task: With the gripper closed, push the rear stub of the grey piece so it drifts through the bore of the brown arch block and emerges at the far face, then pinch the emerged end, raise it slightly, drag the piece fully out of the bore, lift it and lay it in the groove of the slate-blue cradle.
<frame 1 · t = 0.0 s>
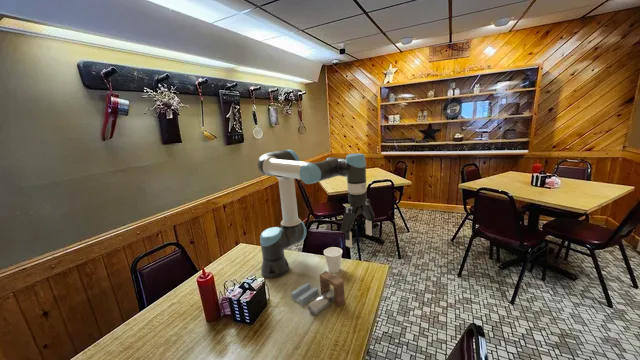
hand: (359, 240, 107), 28 cm above the table, fingers open, 13 cm apart
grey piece: (322, 301, 110), point 2 cm above the table
cradle: (305, 296, 117), on the table
cup: (334, 270, 136), on the table
brown arch block: (332, 299, 114), on the table
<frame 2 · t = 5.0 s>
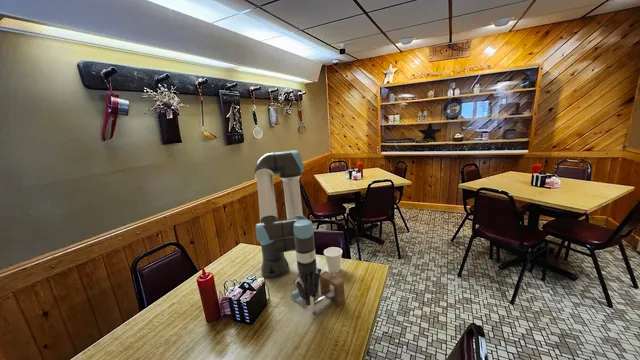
hand: (311, 310, 105), 2 cm above the table, fingers closed
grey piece: (324, 301, 109), point 2 cm above the table, tilted 15°, touching gripper
everything else where it was.
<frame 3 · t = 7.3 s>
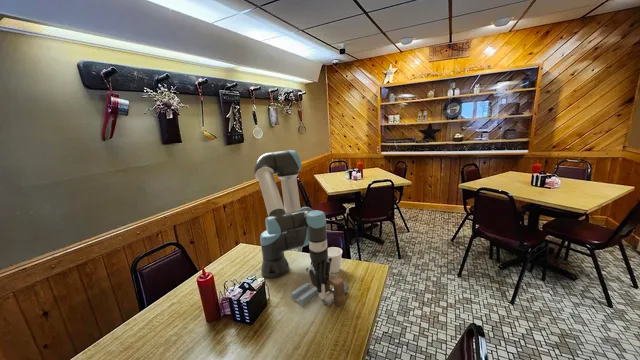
hand: (322, 297, 110), 4 cm above the table, fingers closed
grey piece: (335, 293, 114), point 2 cm above the table, tilted 11°
everything else where it was.
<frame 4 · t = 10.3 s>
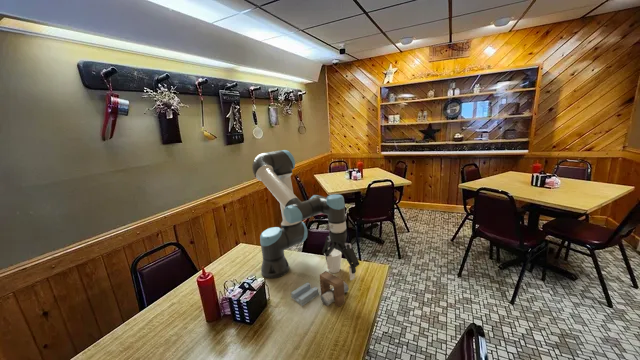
hand: (340, 273, 115), 10 cm above the table, fingers open, 13 cm apart
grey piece: (334, 293, 114), point 2 cm above the table, tilted 5°
everything else where it was.
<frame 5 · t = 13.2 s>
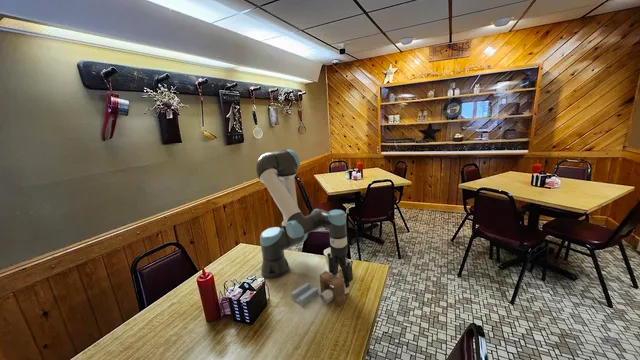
hand: (341, 289, 118), 1 cm above the table, fingers closed on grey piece, 5 cm apart
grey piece: (334, 291, 114), point 3 cm above the table, touching gripper
everything else where it was.
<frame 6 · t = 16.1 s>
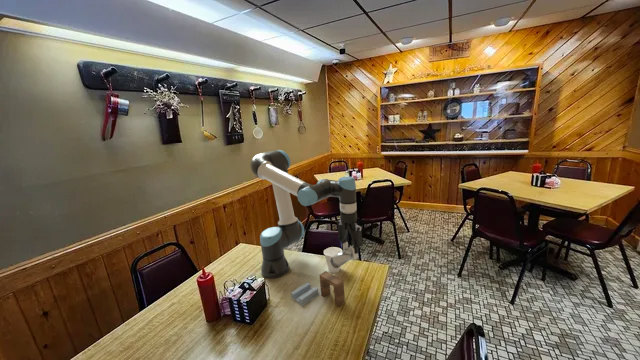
hand: (350, 256, 120), 15 cm above the table, fingers closed on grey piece, 5 cm apart
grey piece: (344, 257, 117), point 17 cm above the table, touching gripper
everything else where it was.
when the fingers open (3 cm above the table, at t = 19.4 s): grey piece stays where it is, resting on cradle.
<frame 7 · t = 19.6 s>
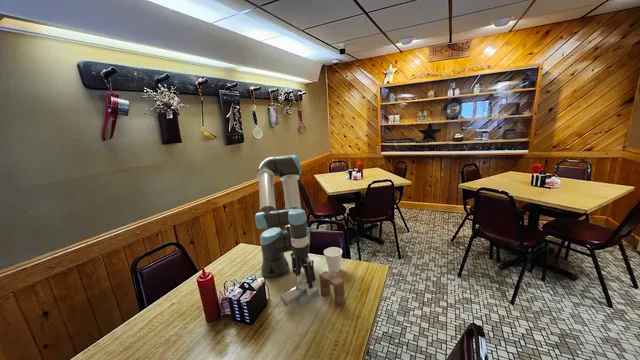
hand: (305, 290, 116), 3 cm above the table, fingers open, 6 cm apart
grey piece: (296, 292, 113), point 5 cm above the table, touching cradle, gripper
everything else where it was.
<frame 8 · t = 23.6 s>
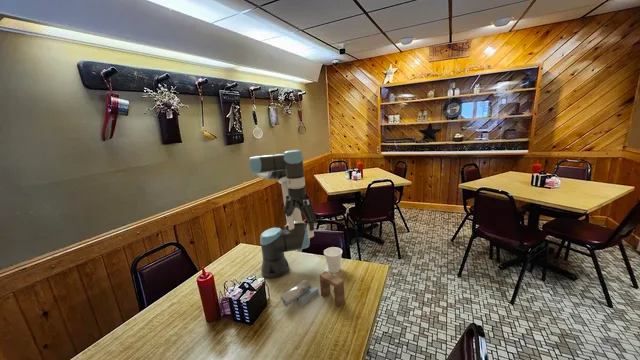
hand: (301, 232, 112), 31 cm above the table, fingers open, 13 cm apart
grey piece: (296, 292, 113), point 5 cm above the table, touching cradle
everything else where it was.
at the end: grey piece inside the target area on the cradle (4.7 cm from its centre), point 4.8 cm above the cradle's base; the gripper is holding nothing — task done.
